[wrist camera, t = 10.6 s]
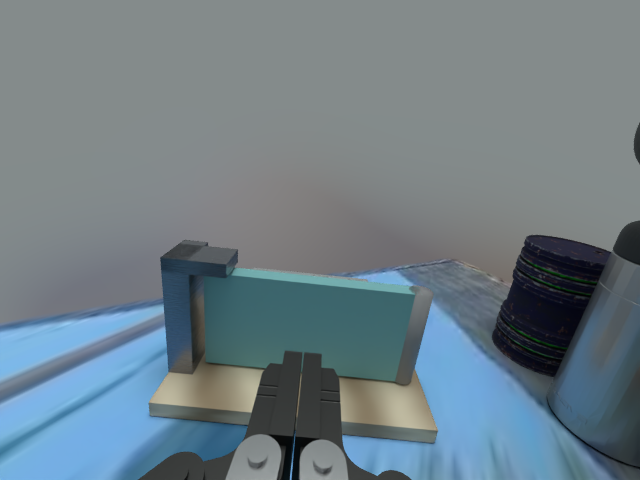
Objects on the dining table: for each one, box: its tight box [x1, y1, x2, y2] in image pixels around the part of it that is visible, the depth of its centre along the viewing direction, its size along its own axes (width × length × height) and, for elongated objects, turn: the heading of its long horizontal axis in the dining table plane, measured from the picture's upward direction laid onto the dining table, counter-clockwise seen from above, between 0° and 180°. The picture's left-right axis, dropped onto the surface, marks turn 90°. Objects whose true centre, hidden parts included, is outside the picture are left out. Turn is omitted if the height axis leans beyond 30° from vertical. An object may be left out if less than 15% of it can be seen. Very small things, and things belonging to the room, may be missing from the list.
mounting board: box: [149, 354, 438, 443], centre depth 35 cm, size 25×18×2 cm
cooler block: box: [160, 240, 368, 375], centre depth 33 cm, size 20×12×12 cm, turn 89°
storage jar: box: [492, 235, 611, 377], centre depth 39 cm, size 10×10×15 cm
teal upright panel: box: [204, 268, 433, 384], centre depth 30 cm, size 21×2×10 cm, turn 89°
